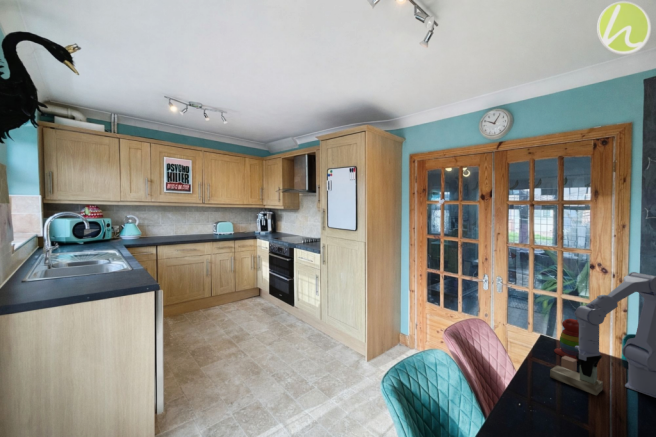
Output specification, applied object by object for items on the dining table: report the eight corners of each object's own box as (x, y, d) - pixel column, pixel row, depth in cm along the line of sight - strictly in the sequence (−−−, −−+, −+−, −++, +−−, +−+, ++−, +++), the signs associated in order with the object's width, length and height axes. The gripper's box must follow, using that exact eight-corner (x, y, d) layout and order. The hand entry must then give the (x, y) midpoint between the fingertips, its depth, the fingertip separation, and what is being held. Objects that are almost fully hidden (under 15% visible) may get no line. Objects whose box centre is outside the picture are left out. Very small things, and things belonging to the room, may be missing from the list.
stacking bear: (575, 352, 135) (575, 315, 135) (593, 362, 125) (593, 323, 125) (552, 350, 136) (552, 314, 136) (567, 361, 126) (567, 322, 126)
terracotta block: (576, 371, 118) (576, 359, 118) (573, 373, 116) (573, 362, 116) (564, 367, 121) (564, 355, 121) (561, 369, 119) (561, 357, 119)
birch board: (602, 389, 105) (602, 381, 105) (596, 395, 101) (596, 387, 101) (557, 372, 117) (557, 364, 117) (550, 377, 113) (550, 369, 113)
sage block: (597, 380, 105) (597, 367, 105) (593, 384, 103) (593, 370, 103) (583, 375, 108) (583, 363, 108) (579, 378, 106) (579, 365, 106)
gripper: (581, 331, 113) (581, 364, 113) (568, 338, 105) (568, 374, 105) (605, 337, 107) (605, 372, 107) (593, 345, 99) (593, 383, 99)
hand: (588, 374), depth 105 cm, fingers closed on sage block, 4 cm apart
